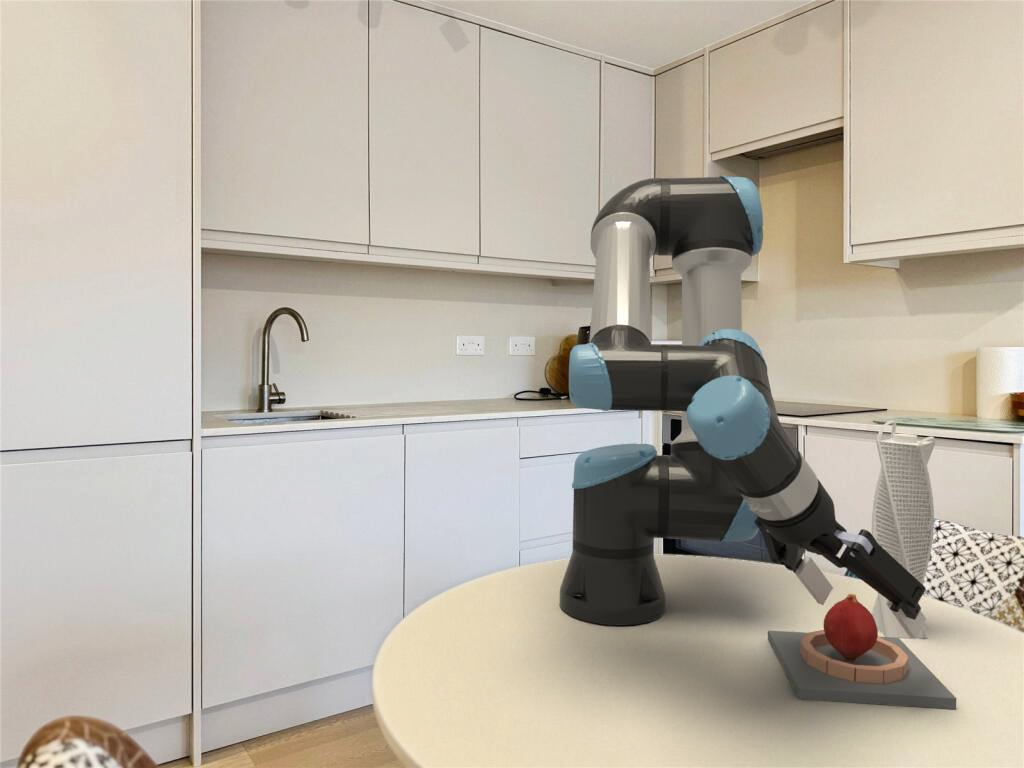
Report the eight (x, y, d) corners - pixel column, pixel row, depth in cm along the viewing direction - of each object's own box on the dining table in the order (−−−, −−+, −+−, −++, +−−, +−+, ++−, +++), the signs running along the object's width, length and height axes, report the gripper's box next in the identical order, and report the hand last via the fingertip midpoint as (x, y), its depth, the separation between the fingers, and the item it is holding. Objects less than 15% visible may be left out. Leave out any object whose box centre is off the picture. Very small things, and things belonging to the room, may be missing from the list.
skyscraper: (856, 617, 105) (863, 418, 103) (910, 618, 105) (919, 419, 103) (881, 640, 97) (890, 426, 95) (940, 642, 97) (950, 426, 95)
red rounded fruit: (814, 650, 91) (815, 585, 91) (859, 649, 92) (861, 584, 91) (837, 670, 85) (839, 601, 85) (886, 669, 86) (888, 600, 85)
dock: (798, 698, 81) (799, 674, 81) (767, 639, 97) (768, 619, 97) (955, 709, 79) (957, 684, 79) (898, 646, 95) (898, 626, 95)
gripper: (688, 501, 89) (772, 605, 98) (871, 551, 69) (956, 676, 78) (721, 453, 92) (801, 559, 101) (907, 489, 71) (986, 617, 80)
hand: (869, 610), depth 89 cm, fingers open, 11 cm apart
